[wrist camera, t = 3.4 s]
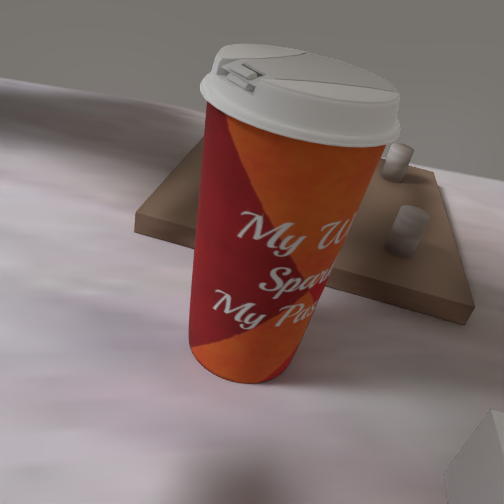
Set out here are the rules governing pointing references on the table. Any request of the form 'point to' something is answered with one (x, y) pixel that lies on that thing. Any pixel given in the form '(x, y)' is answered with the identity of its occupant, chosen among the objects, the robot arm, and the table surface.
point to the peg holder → (355, 236)
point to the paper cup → (277, 198)
